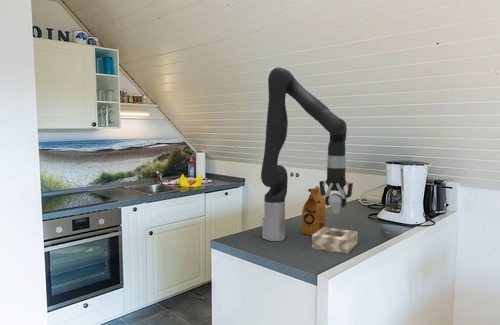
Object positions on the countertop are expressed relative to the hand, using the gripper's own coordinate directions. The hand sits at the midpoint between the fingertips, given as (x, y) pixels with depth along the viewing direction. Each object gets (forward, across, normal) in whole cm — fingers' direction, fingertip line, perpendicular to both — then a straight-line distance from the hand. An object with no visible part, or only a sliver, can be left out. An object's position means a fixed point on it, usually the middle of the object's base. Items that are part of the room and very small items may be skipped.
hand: (335, 206), depth 154 cm
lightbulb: (+6, 0, 0) cm, 6 cm away
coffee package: (+17, -15, +15) cm, 27 cm away
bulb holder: (+17, 0, 0) cm, 17 cm away
